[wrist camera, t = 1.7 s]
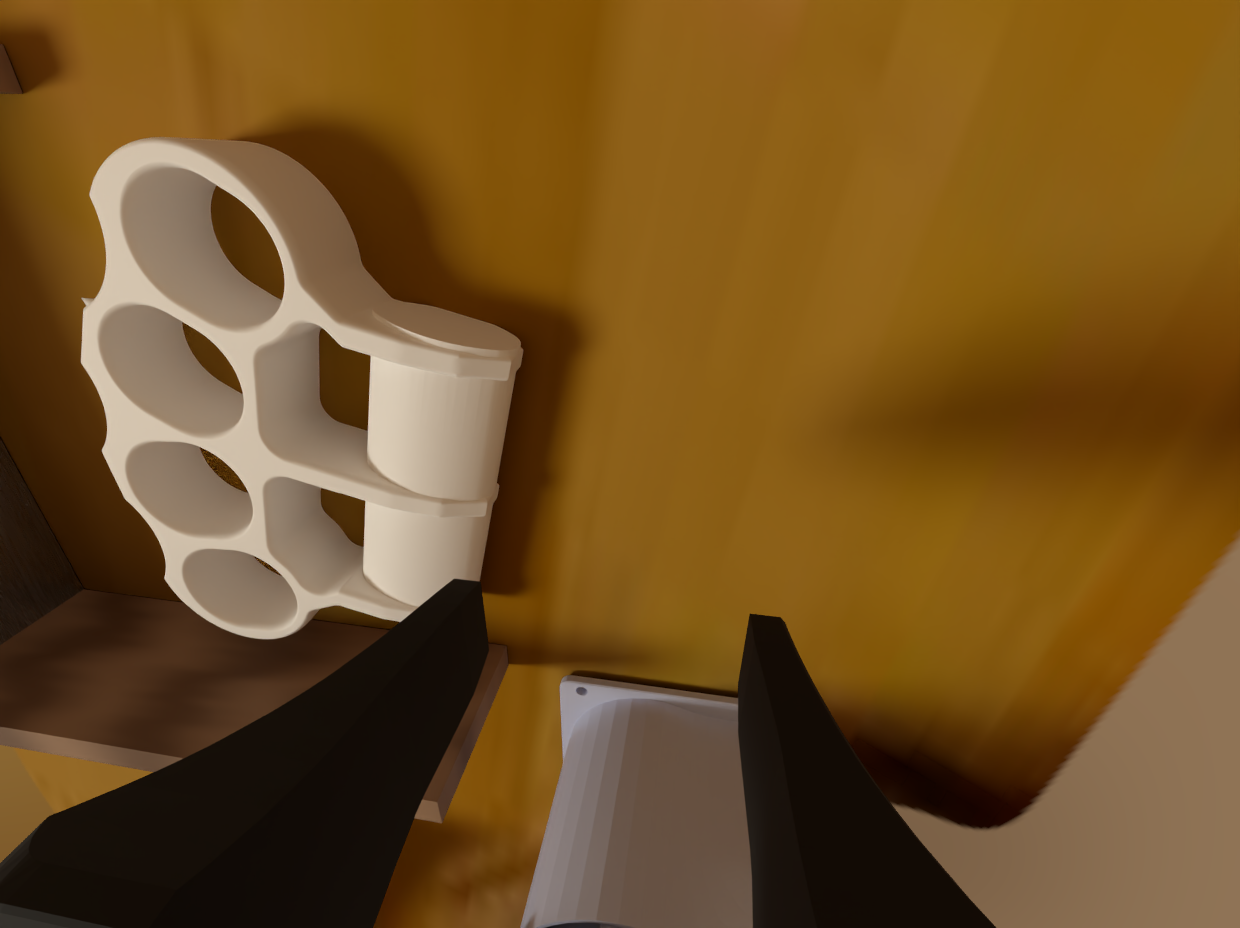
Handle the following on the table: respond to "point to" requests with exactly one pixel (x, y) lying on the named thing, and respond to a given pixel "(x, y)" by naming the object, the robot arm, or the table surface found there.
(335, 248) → the white multi-hole holder
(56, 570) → the bookend
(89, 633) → the shelf wall
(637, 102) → the table surface
